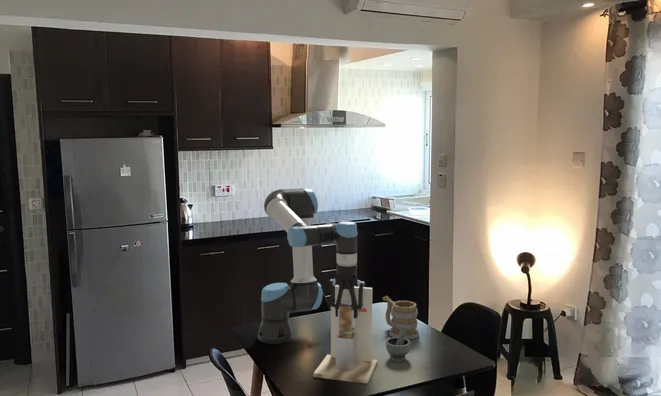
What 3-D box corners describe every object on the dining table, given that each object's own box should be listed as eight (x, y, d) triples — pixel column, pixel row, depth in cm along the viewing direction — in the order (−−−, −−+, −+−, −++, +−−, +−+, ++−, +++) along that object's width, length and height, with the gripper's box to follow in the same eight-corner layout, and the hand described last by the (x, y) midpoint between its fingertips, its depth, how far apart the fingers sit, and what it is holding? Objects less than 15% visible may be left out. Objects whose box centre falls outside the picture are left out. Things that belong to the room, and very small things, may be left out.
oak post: (338, 366, 202) (338, 303, 200) (342, 361, 207) (342, 300, 204) (350, 368, 201) (351, 304, 199) (353, 363, 205) (354, 301, 203)
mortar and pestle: (402, 365, 208) (402, 335, 207) (381, 359, 214) (381, 330, 213) (415, 356, 218) (416, 326, 216) (395, 350, 223) (395, 322, 222)
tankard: (424, 336, 240) (425, 302, 238) (402, 342, 233) (403, 307, 231) (394, 323, 256) (394, 292, 255) (373, 328, 249) (373, 296, 248)
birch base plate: (313, 376, 198) (313, 373, 198) (327, 358, 215) (327, 354, 215) (367, 383, 193) (367, 379, 193) (377, 363, 210) (377, 360, 210)
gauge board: (330, 357, 212) (330, 286, 209) (331, 355, 214) (331, 284, 211) (370, 362, 208) (371, 289, 205) (371, 360, 210) (372, 287, 207)
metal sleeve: (335, 368, 202) (335, 337, 200) (340, 361, 208) (340, 331, 207) (352, 370, 200) (353, 339, 199) (356, 363, 206) (357, 333, 205)
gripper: (320, 264, 199) (321, 326, 201) (367, 267, 194) (367, 331, 196) (326, 260, 206) (326, 320, 208) (372, 263, 201) (371, 324, 204)
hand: (346, 325), depth 202 cm, fingers closed on oak post, 4 cm apart
